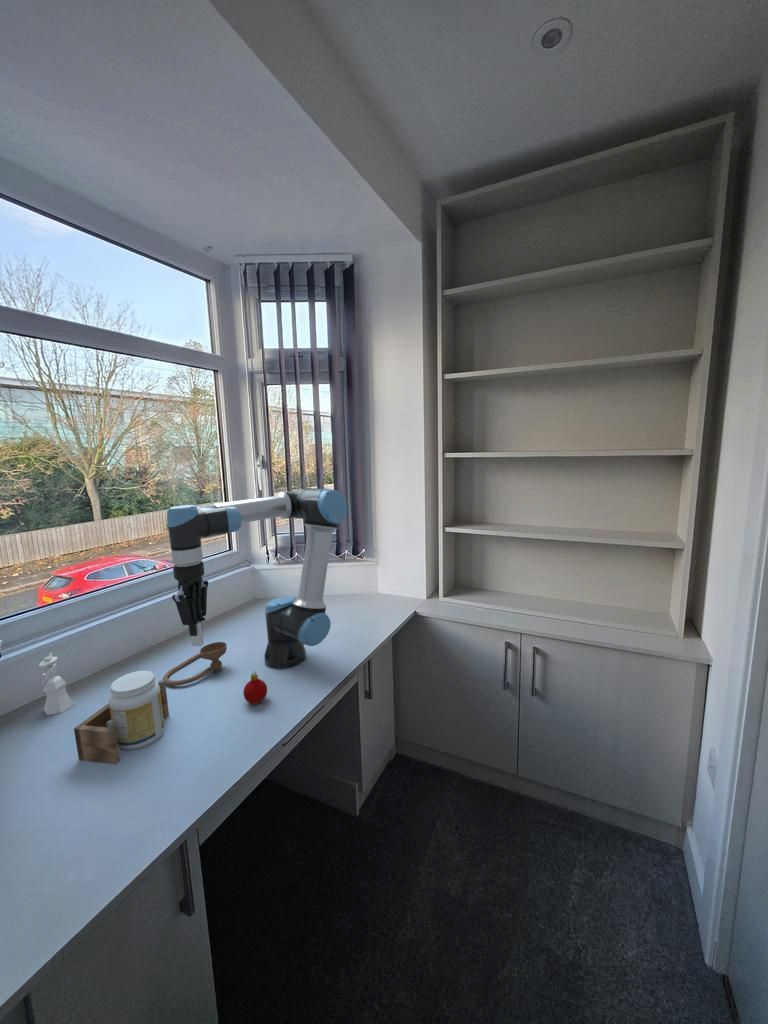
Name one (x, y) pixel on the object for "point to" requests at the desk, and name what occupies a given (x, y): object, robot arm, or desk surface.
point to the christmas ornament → (255, 690)
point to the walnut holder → (104, 734)
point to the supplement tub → (136, 709)
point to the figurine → (54, 688)
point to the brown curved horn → (206, 652)
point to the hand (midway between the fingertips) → (197, 644)
